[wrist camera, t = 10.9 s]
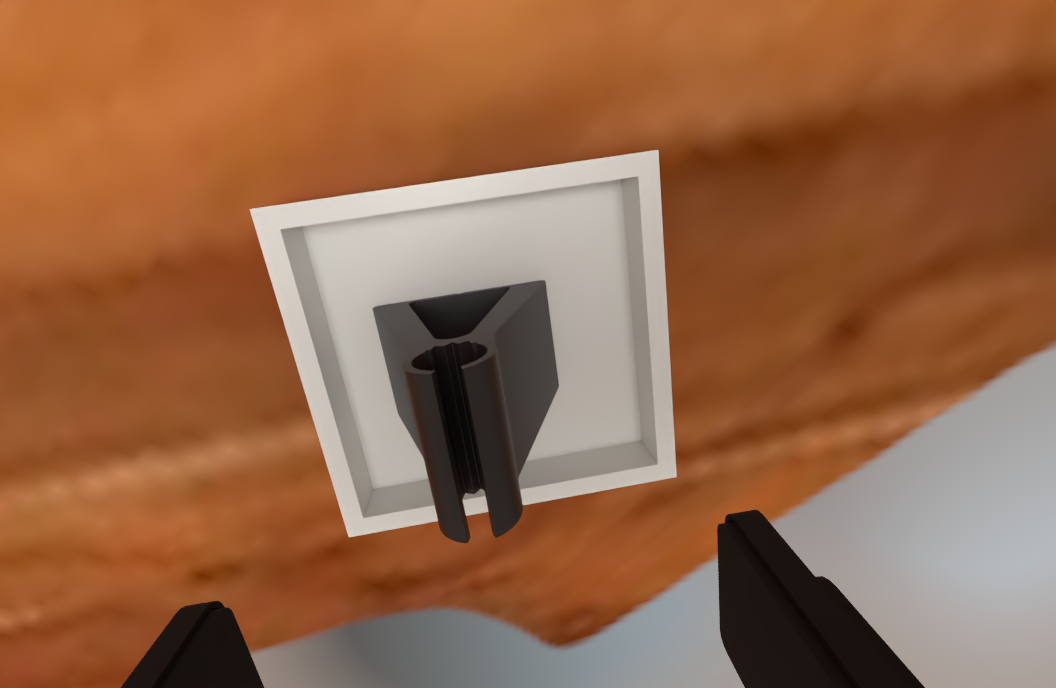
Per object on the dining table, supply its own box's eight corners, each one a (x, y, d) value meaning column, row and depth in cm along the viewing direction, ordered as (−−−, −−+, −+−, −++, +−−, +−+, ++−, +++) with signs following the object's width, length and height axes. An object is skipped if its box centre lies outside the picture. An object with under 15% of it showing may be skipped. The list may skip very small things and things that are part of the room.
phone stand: (398, 410, 27) (341, 566, 16) (373, 305, 25) (289, 395, 14) (558, 384, 28) (615, 516, 16) (545, 279, 26) (599, 346, 14)
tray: (634, 155, 25) (658, 149, 22) (654, 446, 30) (676, 477, 27) (280, 207, 24) (249, 209, 21) (363, 498, 29) (348, 537, 26)
